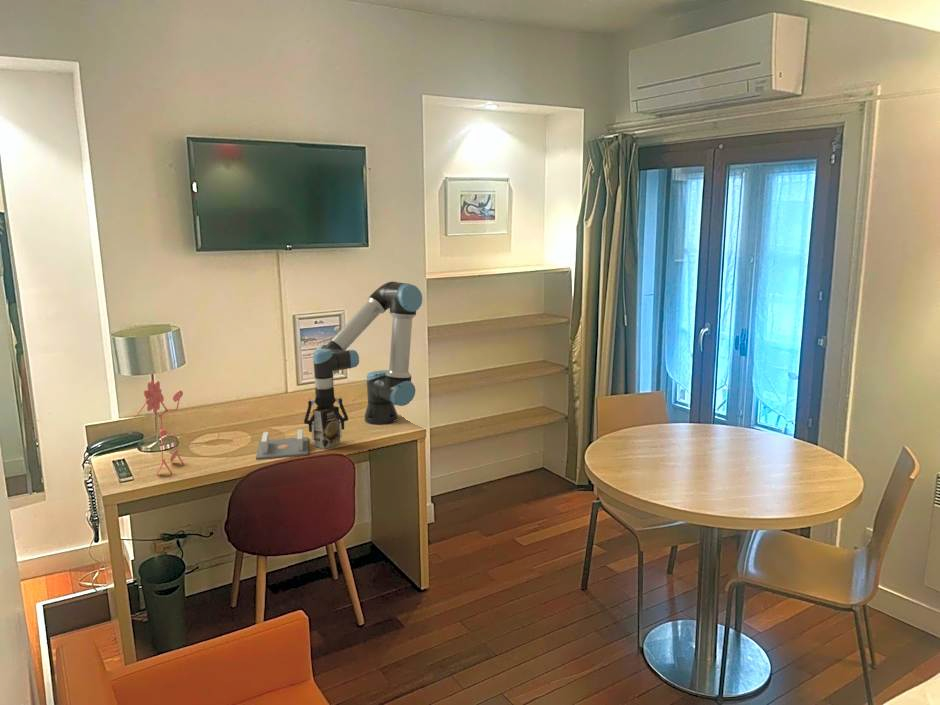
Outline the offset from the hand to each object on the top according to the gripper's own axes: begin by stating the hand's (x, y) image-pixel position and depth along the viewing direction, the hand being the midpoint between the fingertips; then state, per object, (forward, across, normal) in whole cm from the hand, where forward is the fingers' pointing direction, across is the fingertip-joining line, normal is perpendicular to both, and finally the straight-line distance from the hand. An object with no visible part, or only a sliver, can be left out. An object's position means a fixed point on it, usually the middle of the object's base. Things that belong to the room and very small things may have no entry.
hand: (327, 437), depth 286 cm
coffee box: (+3, 0, 0) cm, 3 cm away
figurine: (+3, +63, +11) cm, 64 cm away
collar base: (+3, +18, 0) cm, 18 cm away
